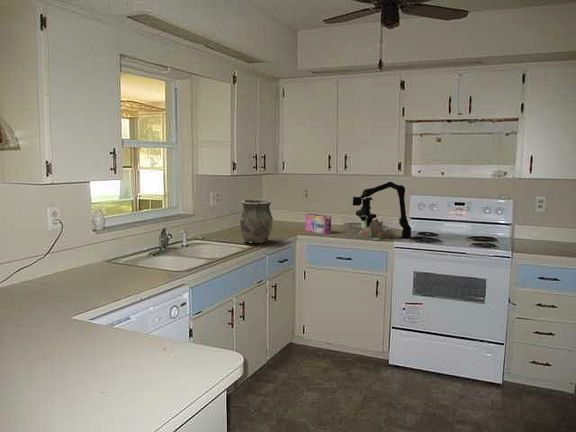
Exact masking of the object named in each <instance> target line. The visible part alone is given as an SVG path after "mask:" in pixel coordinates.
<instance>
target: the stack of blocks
mask: <svg viewBox="0 0 576 432" xmlns="http://www.w3.org/2000/svg"><path fill="white" fill-rule="evenodd" d="M366 221H367V220H366ZM383 223H384V222H383V220H379V217H376V218H374V219H373V220H372V221H371V226H370V228H364V234H363V235H364V236H370V237H371V236H374V232H378V231H382V229H383V228H384V224H383Z"/></svg>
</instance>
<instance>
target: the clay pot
mask: <svg viewBox="0 0 576 432" xmlns="http://www.w3.org/2000/svg"><path fill="white" fill-rule="evenodd" d="M241 204H242V205H243V206H242V211H241V215H240V220H239V221H240V229H241V233H242V238H243V239H244V242H245V241H246V242H245V243H247V242H252V243H260V244H263V243H262V242H265V243H267V242H268V239H269V237H270V235H271V232H272V229H273V220H274V218H273V215H272V212H271V209H270V206H271V204H272V201H271V200H269V199H260V198H256V199H255V198H253V199H251V198H250V199H246V200H245V199H243V200H242V201H241ZM252 243H251V244H252Z"/></svg>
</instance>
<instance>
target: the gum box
mask: <svg viewBox="0 0 576 432" xmlns="http://www.w3.org/2000/svg"><path fill="white" fill-rule="evenodd" d="M305 230H306V231H305ZM304 231H305V232H310V231H312V233H316V232H317V234H322V233H323V234H324V235H326V234H331V233H332V216H330V215H322V214H315V213H308V214H304Z"/></svg>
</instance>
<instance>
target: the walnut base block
mask: <svg viewBox="0 0 576 432" xmlns="http://www.w3.org/2000/svg"><path fill="white" fill-rule="evenodd" d="M389 236H390V235H389V233H388V232H384V231H378V232H374V235H373V238H380V239H390V238H389Z"/></svg>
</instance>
